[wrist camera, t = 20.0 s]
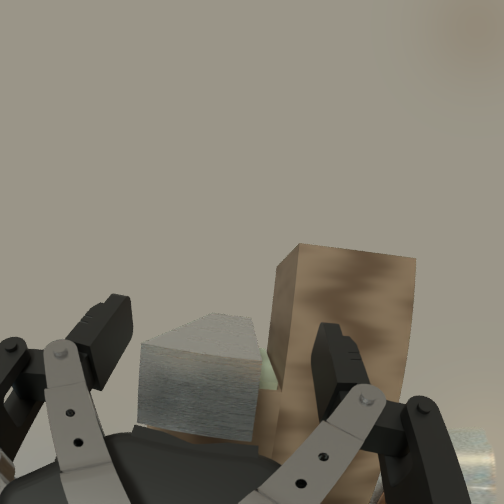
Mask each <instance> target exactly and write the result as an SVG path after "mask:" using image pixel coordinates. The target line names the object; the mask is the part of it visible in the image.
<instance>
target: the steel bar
mask: <svg viewBox="0 0 504 504" xmlns="http://www.w3.org/2000/svg"><path fill="white" fill-rule="evenodd" d="M261 367H262V358H261V354H260V350H259V346H258V343H257V339H256V335H255V331H254V327H253V323H252V319H251V318H249V317H241V316H232V315H223V314H216V313H211V314H209V315H206V316H204V317H202V318H199V319H197V320H195V321H192V322H190V323H188V324H186V325H183V326H181V327H178V328H176V329H174V330H171V331H169V332H166V333H164V334H162V335H160V336H157V337H155V338H152V339H150V340H148V341H145V342H143V343H142V344H141V355H140V371H139V388H138V415H137V416H138V418H137V422H138V423H141V424H145V425H149V426H153V427H158V428H163V429H167V430H172V431H177V432H183V433H188V434H194V435H200V436H207V437H214V438H221V439H229V440H238V441H248V442H251V441H252V434H253V427H254V419H255V412H256V405H257V397H258V390H259V382H260V374H261Z"/></svg>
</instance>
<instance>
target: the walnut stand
mask: <svg viewBox="0 0 504 504" xmlns="http://www.w3.org/2000/svg"><path fill="white" fill-rule="evenodd" d="M415 272H416V258H410V257H402V256H395V255H387V254H379V253H372V252H365V251H357V250H349V249H342V248H334V247H325V246H318V245H310V244H302V243H299V244H298V245H297V246H296V247H295V248H294V249H293V250H292V252H291V253H290V254H289V255H288V256H287V257H286V258H285V259H284V260H283V261H282V262H281V263H280V264H279V265H278V266H277V269H276V278H275V288H274V296H273V305H272V313H271V322H270V330H269V338H268V347H267V352H266V350H265V349H262V348H259V350H260V354H261V358H262V367H261V374H260V382H259V390H258V397H257V405H256V412H255V419H254V427H253V434H252V441H251V442H248V441H238V440H229V439H221V438H214V437H207V436H200V435H194V434H188V433H183V432H177V431H172V430H167V429H163V428H158V427H153V426H149V425H147V428H150V429H155V430H159V431H163V432H166V433H168V434H170V435H173V436H175V437H177V438H179V439H182V440H184V441H187V442H189V443H192V444H212V443H236V444H245V445H255V446H259V448H258V454H260V455H263V456H265V457H268V458H270V459H272V460H274V461H276V462H278V463H279V464H281V465H283V464H284V462H285V461H286V460H287V459H288V458H289V457H290V456H291V455H292V454H293V453H294V452H295V451H296V450H297V449H298V448H299V447H300V446H301V444H302V443H303V442H304V441H305V440H306V439H307V438H308V437H309V436H310V434H311V433H312V432H313V431H314V430H315V429H316V428H317V426H318V425H319V418H318V410H317V403H316V396H315V390H314V383H313V376H312V370H311V353H312V349H313V346H314V342H315V339H316V335H317V332H318V328H319V325H320V323H321V322H325V323H337V324H339V325H340V328H341V331H342V334H343V336H350V337H351V339H352V340H353V341H354V342H355V343H356V344H357V346H358V349H359V352H360V353H359V354H360V355H361V358H362V361H363V363H364V366H365V369H366V372H367V375H368V378H369V381H370V384H371V385H373V386H375V387H377V388H379V389H380V390H381V391H382V392H383V393H384V395H385V397H386V400H389V401H393V402H397V403H399V398H400V394H401V388H402V383H403V378H404V372H405V366H406V360H407V354H408V347H409V339H410V331H411V323H412V312H413V302H414V288H415ZM380 471H381V470H380V465H379V459H378V453H373V452H368V451H364V450H359V451H358V452H357V454H356V455H355V457H354V458H353V460H352V461H351V463H350V464H349V465H348V467H347V468H346V470H345V471H344V473H343V474H342V475H341V477H340V478H339V480H338V481H337V482H336V484H335V485H334V486H333V488H332V489H331V490H330V492H329V493H328V494H327V495H326V497H325V498H324V499H323V500H322V502H321V503H320V504H369V502H370V500H371V497H372V494H373V491H374V489H375V486H376V483H377V480H378V477H379V474H380Z"/></svg>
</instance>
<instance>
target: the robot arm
mask: <svg viewBox="0 0 504 504" xmlns="http://www.w3.org/2000/svg"><path fill="white" fill-rule="evenodd" d="M132 334H133V320H132V310H131V301H130V298H129V297H128V296H123V295H118V294H111V295H110V297H109V298H108V299H107V300H106V301H105V303H99V304H97V305H95V306H93V307H92V308H90V310H89V311H88V312H87V313H86V314H85V316H84V317H83V318H82V319H81V321H80V322H79V323H78V324H77V325H76V326H75V327H74V329H73V330H72V331H71V332H70V333H69V335H68V336H67V337H66V338H65V339H61V340H56V341H53V342H51V343H49V344H48V345H47V346H46V348H45V349H44V350H38V349H28V348H27V345H26V342H25V341H24V340H23V339H22V338H19V337H10V338H7V339H5V340H3V341H2V342H1V343H0V504H320V503H321V502H322V500H323V499H324V498H325V497H326V495H327V494H328V493H329V492H330V490H331V489H332V488H333V486H334V485H335V484H336V482H337V481H338V480H339V478H340V477H341V475H342V474H343V473H344V471H345V470H346V468H347V467H348V465H349V464H350V463H351V461H352V460H353V458H354V457H355V455H356V454H357V452H358V451H359V450H364V451H368V452H373V453H378V459H379V465H380V470H381V476H382V483H383V489H384V496H385V503H386V504H471V501H470V497H469V494H468V490H467V487H466V483H465V480H464V477H463V474H462V471H461V468H460V465H459V462H458V459H457V456H456V453H455V450H454V447H453V445H452V442H451V439H450V436H449V434H448V431H447V428H446V426H445V423H444V421H443V418H442V416H441V413H440V411H439V408H438V406H437V405H436V403H435V402H434V401H432V400H431V399H430V398H427V397H424V396H413V397H411V398H410V399H409V400H408V402H407V403H406V404H401V403H397V402H393V401H389V400H386V397H385V395H384V393H383V392H382V391H381V390H380V389H379V388H377V387H375V386H373V385H371V384H370V381H369V378H368V375H367V372H366V369H365V366H364V363H363V361H362V358H361V355H360V354H359V353H360V352H359V349H358V346H357V344H356V343H355V342H354V341H353V340H352V339H351V337H350V336H343V334H342V331H341V328H340V325H339V324H337V323H325V322H321V323H320V325H319V328H318V332H317V335H316V339H315V342H314V346H313V349H312V353H311V370H312V376H313V383H314V390H315V396H316V403H317V410H318V418H319V425H318V426H317V428H316V429H315V430H314V431H313V432H312V433H311V434H310V436H309V437H308V438H307V439H306V440H305V441H304V442H303V443H302V444H301V446H300V447H299V448H298V449H297V450H296V451H295V452H294V453H293V454H292V455H291V456H290V457H289V458H288V459H287V460H286V461H285V462H284V464H283V465H281V464H279V463H278V462H276V461H274V460H272V459H270V458H268V457H265V456H263V455H260V454H258V448H259V446H255V445H245V444H236V443H212V444H192V443H189V442H187V441H184V440H182V439H179V438H177V437H175V436H173V435H170V434H168V433H166V432H163V431H159V430H155V429H150V428H146V427H142V426H138V425H134V428H133V431H132V433H131V432H129V433H128V432H127V433H117V434H112V435H108V436H105V434H104V432H103V429H102V426H101V423H100V421H99V418H98V415H97V412H96V409H95V405H94V403H93V399H92V396H91V393H90V391H91V389H92V388H93V389H96V390H99V391H102V390H103V388H104V386H105V384H106V383H107V381H108V379H109V377H110V375H111V374H112V372H113V370H114V368H115V366H116V365H117V363H118V361H119V359H120V358H121V356H122V354H123V352H124V351H125V349H126V347H127V345H128V343H129V342H130V340H131V338H132ZM11 386H12V387H13V391H12V392H11V394H10V395H9V397H8V398H7V400H6V401H5V403H4V397H5V395H6V393H7V392H8V390H9V389H10V387H11ZM44 402H46V406H47V412H48V418H49V423H50V428H51V433H52V438H53V442H54V446H55V450H56V455H57V458H58V460H57V461H55V462H53V463H50V464H48V465H46V466H44V467H42V468H40V469H37V470H35V471H33V472H31V473H29V474H26V475H24V476H21V477H19V478H17V479H15V477H14V475H15V468H14V465H13V460H14V458H15V456H16V454H17V452H18V450H19V448H20V446H21V444H22V442H23V440H24V438H25V436H26V434H27V433H28V430H29V429H30V427H31V425H32V423H33V421H34V419H35V418H36V416H37V414H38V412H39V410H40V408H41V407H42V405H43V403H44Z"/></svg>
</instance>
